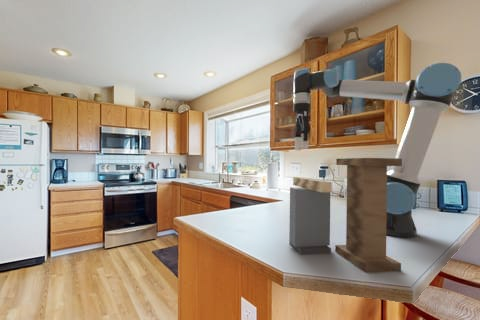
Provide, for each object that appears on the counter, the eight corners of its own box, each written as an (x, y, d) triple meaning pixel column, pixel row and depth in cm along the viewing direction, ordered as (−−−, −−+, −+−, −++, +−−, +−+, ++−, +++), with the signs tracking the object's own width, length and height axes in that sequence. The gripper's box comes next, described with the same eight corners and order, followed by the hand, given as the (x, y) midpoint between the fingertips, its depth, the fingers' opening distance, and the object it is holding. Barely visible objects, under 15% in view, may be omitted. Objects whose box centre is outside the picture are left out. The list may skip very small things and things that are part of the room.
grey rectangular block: (286, 243, 83) (287, 186, 83) (318, 242, 85) (319, 186, 85) (297, 254, 73) (298, 190, 73) (333, 252, 75) (334, 189, 75)
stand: (335, 251, 76) (336, 158, 77) (363, 250, 78) (364, 159, 78) (367, 272, 61) (368, 157, 62) (401, 270, 63) (402, 158, 63)
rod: (293, 185, 90) (293, 177, 90) (300, 185, 90) (300, 177, 90) (321, 192, 68) (322, 181, 68) (331, 192, 69) (331, 182, 69)
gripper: (288, 109, 122) (288, 150, 122) (299, 96, 97) (299, 147, 97) (303, 110, 122) (302, 151, 122) (318, 96, 97) (317, 148, 97)
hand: (301, 149), depth 109 cm, fingers open, 13 cm apart
